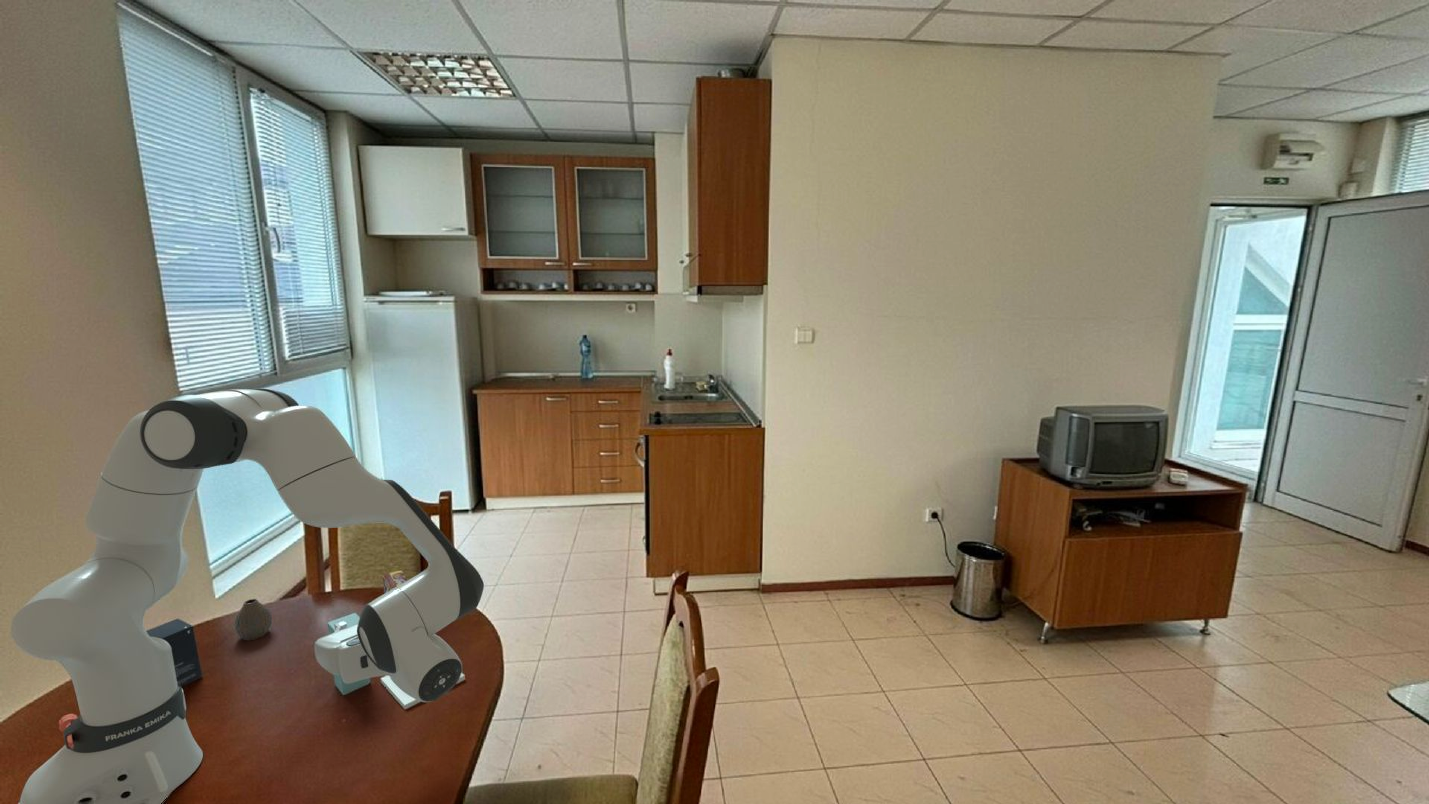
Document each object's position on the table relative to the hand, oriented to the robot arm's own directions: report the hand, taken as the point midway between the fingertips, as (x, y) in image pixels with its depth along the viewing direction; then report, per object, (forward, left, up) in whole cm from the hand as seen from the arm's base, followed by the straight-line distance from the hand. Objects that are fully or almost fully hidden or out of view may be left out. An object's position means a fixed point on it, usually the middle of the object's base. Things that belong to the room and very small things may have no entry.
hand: (367, 615), depth 108 cm
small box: (-27, +40, -21) cm, 53 cm away
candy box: (+13, +22, -21) cm, 33 cm away
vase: (-9, +49, -21) cm, 54 cm away
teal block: (0, +13, -20) cm, 24 cm away
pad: (+10, +3, -20) cm, 23 cm away
